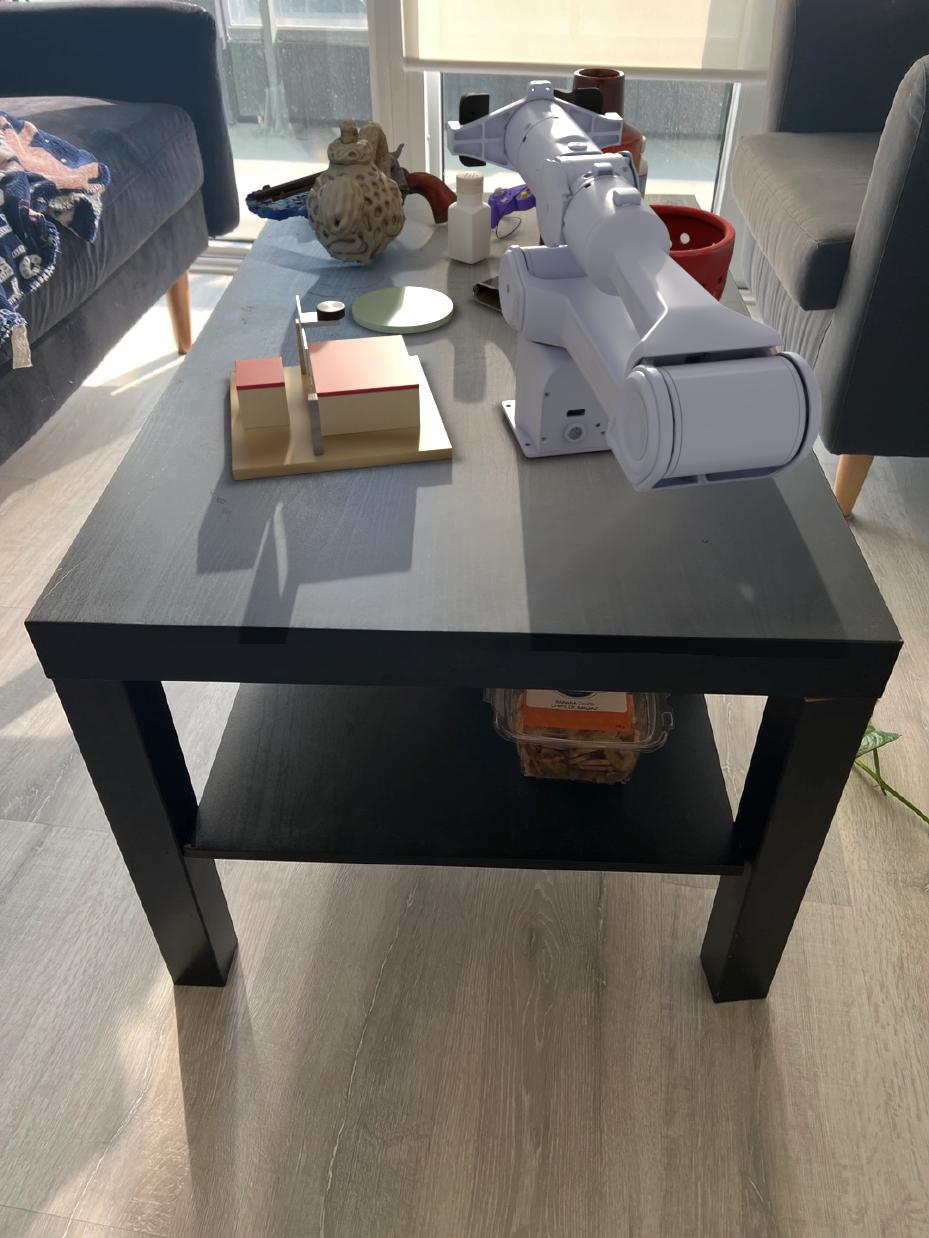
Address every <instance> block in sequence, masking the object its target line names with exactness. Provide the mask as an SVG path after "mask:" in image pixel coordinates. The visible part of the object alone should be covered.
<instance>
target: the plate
mask: <svg viewBox="0 0 929 1238" xmlns="http://www.w3.org/2000/svg"><path fill="white" fill-rule="evenodd" d="M351 315H352V316H351V317H352V318H353V320H354V322H355V323H357V324H358V325H359V326H361V327H363V328H366V329H368V330H371V331H375V332H379V333H385V334H397V335H403V334H404V335H405V334H416V333H425V332H427V331H431V330H435V329H438V328H439V327H441V326H444V325H446V324H447V323H448V322H450V320H451V319H452V318H453V316H454V303H453V301H452V299H451V298H450V297H449V296H447V295H445V294H443V293H442V292H439V291H437V290H434V289H430V288H427V287H420V286H419V287H417V286H389V287H383V288H379V289H374V290H371V291H369V292H366V293H363V294H361V295H359V297H356V299H355V300H354V301H353V302H352V304H351Z"/></svg>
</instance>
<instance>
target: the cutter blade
mask: <svg viewBox="0 0 929 1238" xmlns="http://www.w3.org/2000/svg"><path fill="white" fill-rule="evenodd" d="M295 301H296V308H297V317H298V318H297V319H299V327H300V336H301V342H302V348H303V354H304V360H305V366H306V372H307V378H308V384H309V390H310V391H312V385H311V376H310V367H309V356H308V347H307V343H308V342H307V337H306V338H305V334H306V331H305V332H304V328H305V329H312V328H324V327H325V328H326V327H337V326H341V320H342V319H344V318H345V317H346V314H347V313H346V312H347V311H346V305H345V304H344V303H343V302H341V301H336V300H327V301H322V302H320V303H318V304H316V306H315V312H313V311H312V312H302V309H301V303H300V298H299V295H295Z"/></svg>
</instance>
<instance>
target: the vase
mask: <svg viewBox="0 0 929 1238" xmlns="http://www.w3.org/2000/svg"><path fill="white" fill-rule="evenodd" d="M571 87H572V89H571V91H574V90H575V89H577V88H598V89H599V90H600V91H601V93H602V94H603V109H602V111H603V115H605V114H606V113H617V114H618V115H619V116H620V117H621V118H622V119H623V129H622V137H621V144H620V145H617V146H610V147H606V148H603V149H601V151H602V152H603V153H604V155H605V154H606V153H612V154H616V153H617V152H620V151H628V152H630V153H631V154H632V157H633V164H634V166H635V168H636V171H637V174H638V179H639V171H640V162H641V153H642V144H643V136H644V135H643V134H642V132H641V131H640V129H638V128H637V127H635V126H634V125H632V124H630V123H628V122H626V120H625V118H624V115H625V114H624V113H625V112H624V110H625V90H626V89H625V88H626V74H625V73H624V72H623V71H620V70H617V69H612V68H603V67H601V68H583V69H578V70H577V71H575V72H574V74H573V81H572V86H571ZM642 154H643V153H642ZM538 246H545V244H544V241H543V239H542V237H541V235H540V234H539V242H538Z"/></svg>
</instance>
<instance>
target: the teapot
mask: <svg viewBox="0 0 929 1238" xmlns="http://www.w3.org/2000/svg"><path fill="white" fill-rule="evenodd" d="M339 130H340V136H339V137H337V138H335V139H334V140H332V141H331V142H330V143H329V144H328V146H327V148H326V153H327V159H328V161H329V163H328V168H326V169H325V170H326V171H324V170H323V171H324V172H323V173H322V174H321V175H320V176H319V177H317V178H316V181H315V183H314V185H313V187H312V188H311V190H310V192H309V196H308V200H307V202H306V208H307V211H308V218H309V219H308V224H309V226H310V229H311V231H314V235H315V238H316V239H317V241H318V242H319V243H320V244H321V246H322V247H323V248H324V250H325V251H326V252H327V253H328V254H329V257H330V258H333V259H336V260H338V261H339V260H340V261H341V262H342V263H343V264H351V263H353V264H354V263H357V264H360V265H363V266H364V265H368V264H369V262H371V260H373V259H375V257H376V255H377V254H378V253H380V252H382V251H384V250H385V249H387V248H388V246H389V245H390V244H391V242H392V241H394V240H395V239H396V238H397V237H398V236H399V235H401V232H402V231H403V229H404V226H405V222H406V220H407V217H406V215H405V211H404V208H403V207H402V198H401V197H402V194H401V192H400V190H399V188H398V185H397V183H396V182H395V181H393V180H392V179H391V174H390V162H389V152H390V151H389V145H388V140H387V136H386V133H385V132H384V130H383V126H382V125H381V124H380V123H379V122H376V121H370V120H369V121H367V122H366V123H365V124H363V125H362V126H361V127H360V128H359V130H358V126H357V125H356V124H355V122H354V120H353V119H352V118H346V119H343V120H341V122H340V124H339Z"/></svg>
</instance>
